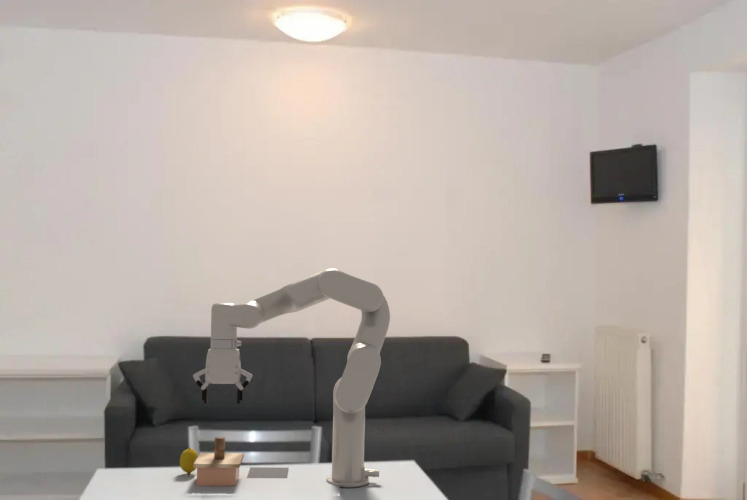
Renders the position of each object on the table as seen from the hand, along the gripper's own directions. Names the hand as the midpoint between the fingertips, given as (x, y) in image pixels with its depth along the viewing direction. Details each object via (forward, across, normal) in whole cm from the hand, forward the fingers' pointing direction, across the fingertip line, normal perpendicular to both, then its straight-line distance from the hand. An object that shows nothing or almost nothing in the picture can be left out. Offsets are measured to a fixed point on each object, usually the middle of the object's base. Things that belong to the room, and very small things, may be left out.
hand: (222, 402), depth 235 cm
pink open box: (+23, +1, 0) cm, 23 cm away
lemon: (+23, +11, -9) cm, 27 cm away
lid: (+17, 0, 0) cm, 17 cm away
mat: (+23, -13, -8) cm, 28 cm away
